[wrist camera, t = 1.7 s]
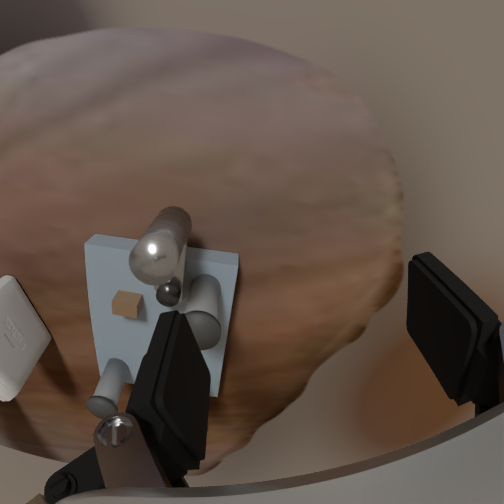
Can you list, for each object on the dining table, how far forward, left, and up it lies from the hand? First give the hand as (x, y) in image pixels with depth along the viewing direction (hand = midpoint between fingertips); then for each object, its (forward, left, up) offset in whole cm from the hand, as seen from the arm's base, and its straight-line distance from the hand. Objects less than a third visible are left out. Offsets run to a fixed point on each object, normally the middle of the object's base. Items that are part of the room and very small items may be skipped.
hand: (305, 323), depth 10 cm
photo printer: (-18, +26, -19) cm, 37 cm away
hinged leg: (-6, +7, -16) cm, 18 cm away
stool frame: (-15, +8, -19) cm, 25 cm away
